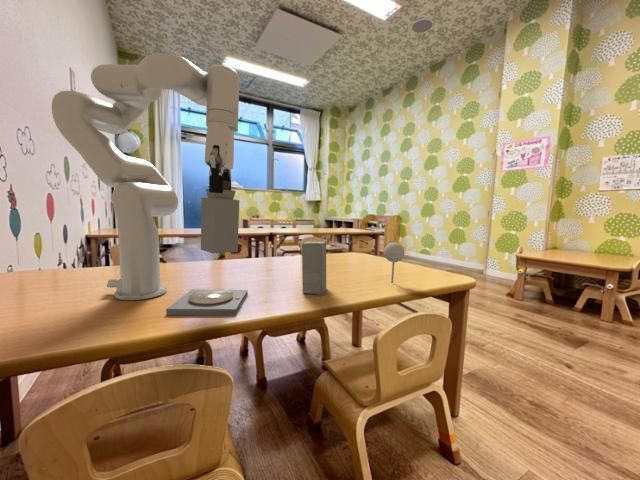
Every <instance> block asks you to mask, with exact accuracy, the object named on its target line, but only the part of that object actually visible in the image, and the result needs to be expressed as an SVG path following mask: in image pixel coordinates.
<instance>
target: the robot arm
mask: <svg viewBox="0 0 640 480" xmlns="http://www.w3.org/2000/svg"><path fill="white" fill-rule="evenodd" d="M90 80H91V83H92V85H93V86H94V88H95V89H96V90H97V92H98V93H100V94H101V95H103V96H104V97H105V98H108V99H109V100H112V101H115V102H113V104H112V103H110V102H107V101H106V100H105V101H104V100H102V99H100V98H97V97H94V96H92V95H89V94H86V93H83V92H80V91H75V90H62V91H61V90H60V91H59V92H57V93H55V95H54V96H53V98H52V102H51V114H52V118H53V121H54V124H55V126H56V128H57V130H58V131H59V133H60V134H61V136H63V138H64V139H65V140H66V141H67V142H68V143H69V144H70V146H72V147H73V148H74V150H76V151H77V153H78V154H79V155H80V156H81V158H82V159H83V160H84V162H85V163H86V164H87V165H88V167H90V170H92V172H93V173H94V174H95V175H96V176H97V178H98V180H100V181H101V183H103V184H104V185H106V186H107V187H111V188H114V189H113V191H112V194H111V202H112V207H113V210H114V213H115V214H114V215H115V217H116V222H117V223H116V224H117V235H118V251H119V253H118V254H119V271H120V272H119V274H120V279H119V278H118V279H117V278H115V279H113V278H111V279H108V281H107V284H106V287H107V288H111V289H112V288H116V290H115V292H114V298H115V299H116V300H121V301H139V300H140V301H141V300H148V299H153V298H156V297H160V296H163V295H164V294H166V292H167V287H166V286H165V285H162V284H161V268H160V267H161V266H160V265H161V264H160V260H161V259H160V239H159V236H160V235H159V229H158V226H157V224H156V222H155V220H154V218H153V217H167V216H168V217H169V216H170V215H173V214H174V213H175V212H176V211H177V209H178V206H179V200H178V199H179V198H178V196H177V194H176V192H175V190H174V189H173V187H172V186H171V185H170V184H169V182H168V181H167V180H166V179H165V178H164V176H163V175H162V174H161V173H160V171H159V170H158V169H157V168H156V166H154V165H153V164H152V163H151V162H149V161H147V160H145V159H141V158H138V157H134V156H131V155H130V156H129V155H127V154H124V153H122V152H121V151H120V150H119V148H117V147H116V146H115V144H114V143H113V141H112V140H111V139H110V138H109V137H108V136H107V135H105V134H104V133H108V134H111V135H120V134H123V133H125V132H126V131H128V129H129V128H130V127H131V126H132V125H133V124H134V123H135V122H136V121H137V120H138V119H139V118H140V117H141V116H142V115H143V114H144V112H145V111H146V110H147V109H148V108H149V106H150V105H151V103H153V102H156V101H158V100H159V99H160V97H161V95H162V91H163V90H171V91H174V92H175V93H178V94H179V95H182V97H185V98H186V99H188V100H190V101H191V102H193V103H195V104H197V105H200V106H201V107H202V106H204V107H205V110H206V111H205V113H206V114H205V117H206V118H205V127H206V128H207V129H206V137H205V149H204V151H205V152H204V164H205V165H206V166H208V167H209V171H208V174H209V177H208V189H209V192H211V193H223V181H229V182H230V187H229V190H232V171H231V170H233V169H234V163H235V162H234V161H235V157H234V156H235V136H234V135H235V134H234V133H236V132H237V131H238V130H239V107H240V106H239V103H240V76H239V74H238V72H237V71H236V69H234V68H232V67H231V66H227V65H225V64H212V65H210V66H209V67H208V68H207V71H203V70H202V69H200V68H199V67H198V66H196V65H195V64H193V63H192V62H191V61H189V59H186V58H185V57H183V56H179V55H177V54H168V53H153V54H149V55H146V56H145V57H144V58H142V59H141V60H140V62H138V64H120V63H119V64H117V63H116V64H114V63H113V64H112V63H111V64H110V63H109V64H108V63H105V64H101V65H97V66H95V67H94V68H93V69H92V71H91V73H90ZM102 132H104V133H102Z"/></svg>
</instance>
